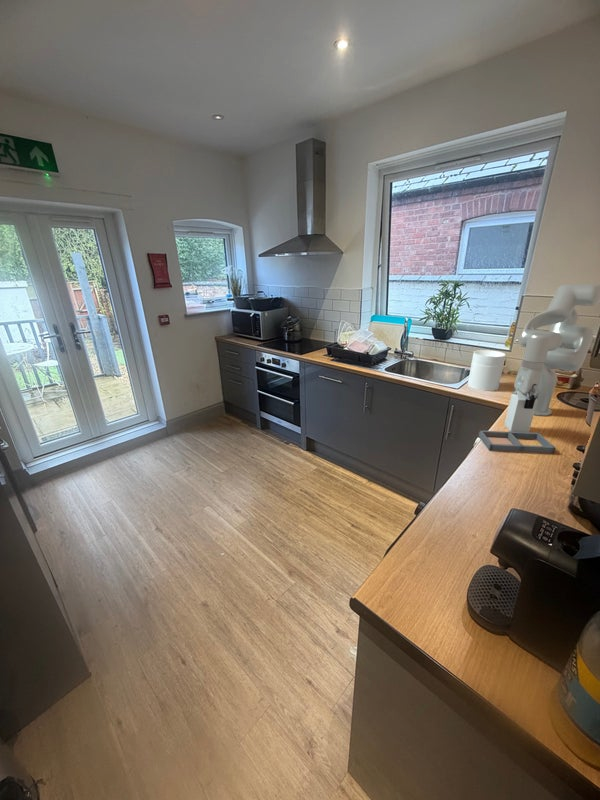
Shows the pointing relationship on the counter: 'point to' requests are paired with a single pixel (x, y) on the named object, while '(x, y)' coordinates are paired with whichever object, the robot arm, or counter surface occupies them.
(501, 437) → the frame
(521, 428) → the milk carton
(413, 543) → the counter surface
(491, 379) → the canister
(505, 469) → the counter surface
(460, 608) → the counter surface
